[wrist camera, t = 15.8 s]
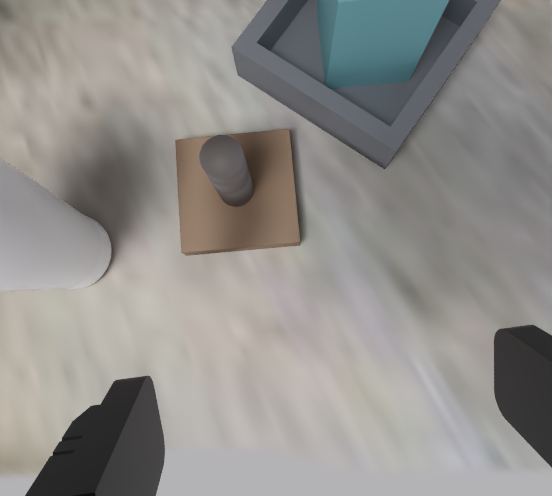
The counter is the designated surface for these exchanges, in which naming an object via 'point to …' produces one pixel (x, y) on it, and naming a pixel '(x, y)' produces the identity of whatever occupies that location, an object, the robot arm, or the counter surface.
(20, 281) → the drinking glass
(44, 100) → the counter surface
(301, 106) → the charcoal tray
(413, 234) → the counter surface
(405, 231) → the counter surface
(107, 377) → the counter surface
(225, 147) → the square wooden base
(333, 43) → the teal sleeve
